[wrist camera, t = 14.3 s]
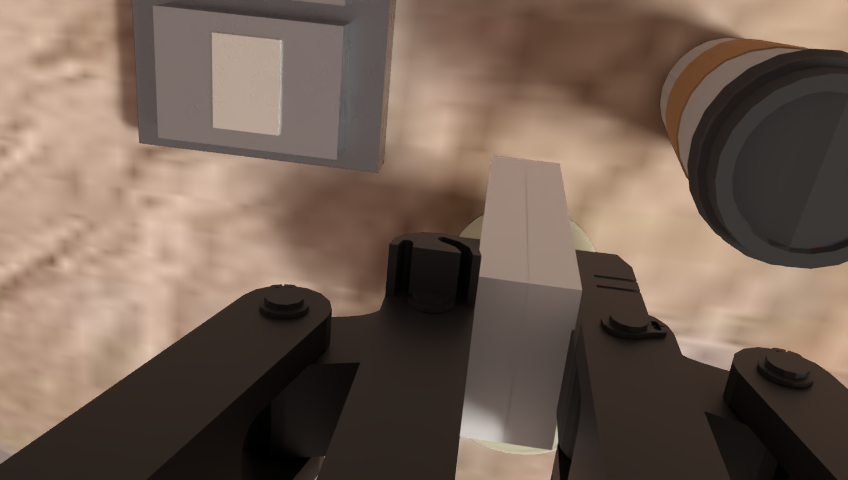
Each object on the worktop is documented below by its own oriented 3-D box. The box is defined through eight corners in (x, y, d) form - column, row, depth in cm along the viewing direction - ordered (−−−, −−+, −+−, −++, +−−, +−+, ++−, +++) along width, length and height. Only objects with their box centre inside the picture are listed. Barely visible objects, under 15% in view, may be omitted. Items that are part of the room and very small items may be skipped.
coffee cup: (621, 154, 43) (670, 256, 29) (665, 2, 40) (744, 34, 26) (768, 184, 42) (889, 302, 29) (825, 34, 39) (991, 84, 25)
